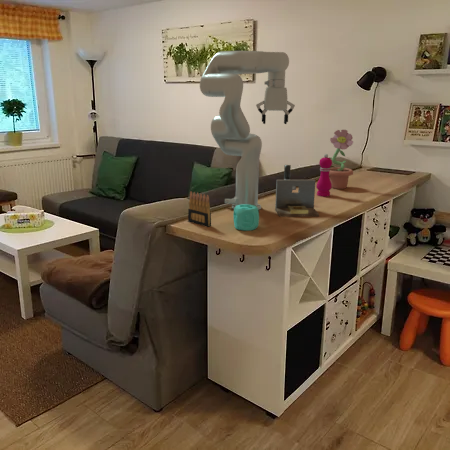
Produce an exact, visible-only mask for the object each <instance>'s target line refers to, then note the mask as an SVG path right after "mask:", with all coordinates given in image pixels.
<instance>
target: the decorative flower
mask: <svg viewBox="0 0 450 450" xmlns="http://www.w3.org/2000/svg"><path fill="white" fill-rule="evenodd" d="M333 134H334V135H333V137H330V139H329V140H330V141H329V142H330V143H331V144H333V147H334V148H336V150H335V152H334V154H333V155H332V157H329V158H330V159H331V160H332V164H334V165H337V166H340V167H330V168H331V169H330V172H329V178H330V181H331V184H332V188H331V189H335V190H342V189H343V190H344V189H346V188H347V187H348V183H349V177H350V176H353V175H354V171H353V169H351V168H347V167H345V164H344V163H346V162H347V160H343V161H342V162H341V161H337V156H338V155H339V153H340V155H341V156H343V157H346V154H345V152H344V150H347V149H348V148H349V147H352V145H353V144H354V141H353V135H352V133H349V131H348V130H347V129H337V130H335V131H334V133H333Z"/></svg>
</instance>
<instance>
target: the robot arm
mask: <svg viewBox="0 0 450 450" xmlns="http://www.w3.org/2000/svg"><path fill="white" fill-rule="evenodd" d="M289 64H290V58H289V55H288V54H287V53H286V52H283V51H263V50H260V51H258V50H223V51H222V50H221V51H218V52H217V53H215V54H214V55H213V57H212V58H211V59H210V61H209V63H208V64H207V66H206V68H205V69H204V71H203V73H202V75H201V78H200V80H199V89H200V92H201V93H202V95H204V96H206V97H210V98H224V100H223V102H222V103H221V106H220V107H219V112H218V113H219V114H218V115H216V116H214V117H213V118H212V120H211V123H210V131H211V135H212V137H213V139H214V140H215V142H216V143H217V146H218V148H219V149H220V150H221V152H223V154H225V155H227V156H234V157H235V156H236V157H240V160H238V162H237V164H236V167H235V196H234V197H232V198H224V204H228V205H231V209H233V210H234V208H235V207H236V206H237V205H241V204H250V205H255V206H256V207H257V208H258V211H260V210H261V209H262V205H261V204H260V203H258V202H259V201H258V198H259V173H260V172H259V169H260V167H259V166H260V158H261V152H262V147H263V141H262V138H261V137H260V136H259V135H257V134H254V133H251V128H250V124H249V122H248V119H247V118H246V116H245V114H244V111H243V110H242V108H241V101H242V96H243V91H244V81H243V78H242V77H241V75H248V74H249V75H253V74H264V73H267V80H265V81H264V85H266V88H265V91H264V99H263V100H262V101H260V102H258V103H256V105H255V106H256V109H257V111H258V112H259V113H260V114H261V122H262V124H264V125H266V121H267V120H266V118H267V117H266V116H267V115H266V113H267V112H268V111H271V112H272V111H273V112H274V111H277V112H279V111H282V112H283V113H284V116H283V124H285V125H287V123H288V122H289V115H290V114H291V113H292V111H293V110H294V108H295V107H296V106H295V105H296V104H295V103H292V102H290V101H289V100H288V89H287V87H286V70H287V69H288V67H289ZM261 106H263V109H261ZM288 106H290V108H289V109H288Z"/></svg>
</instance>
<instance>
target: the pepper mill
mask: <svg viewBox="0 0 450 450" xmlns="http://www.w3.org/2000/svg"><path fill="white" fill-rule="evenodd" d="M330 158H331V157H329V155H328V154H327V153H325V154H324V157H321V158H320V159H319V162H318V165H319V166H320V168H319V171H320V176H319V178H318V181H317V182H316V185H315V188H316V189H317V191H316V192H317V193H316V196H318V197H330V196H331V192H330V191H331V189H333V188H332V184H331V181H330V175H329V172H330V169H331V168H332V165H333V162H332V159H330Z"/></svg>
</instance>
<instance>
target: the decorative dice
mask: <svg viewBox="0 0 450 450" xmlns="http://www.w3.org/2000/svg"><path fill="white" fill-rule="evenodd" d="M259 212H260V211H259V210H258V208H257V207H256V206H255V205H250V204H241V205H237V206H236V207H235V208H234V209H233V225H234V228H235V229H236V230H238V231H243V232H247V231H248V232H249V231H254V230H256V229H257V228H258V227H259V223H260V213H259Z"/></svg>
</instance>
